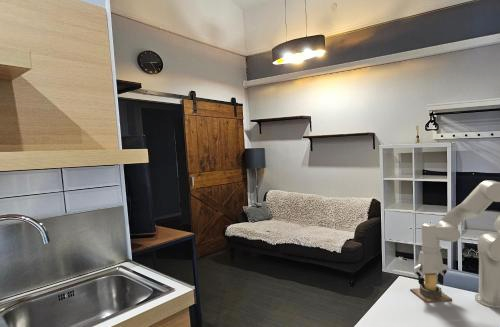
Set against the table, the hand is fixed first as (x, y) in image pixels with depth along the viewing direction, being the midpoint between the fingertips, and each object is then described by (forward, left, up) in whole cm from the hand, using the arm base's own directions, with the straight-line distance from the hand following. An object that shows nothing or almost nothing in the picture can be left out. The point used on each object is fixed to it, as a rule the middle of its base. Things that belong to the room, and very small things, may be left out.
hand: (430, 284), depth 150 cm
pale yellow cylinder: (0, 0, -5) cm, 5 cm away
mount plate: (0, 0, -6) cm, 6 cm away
